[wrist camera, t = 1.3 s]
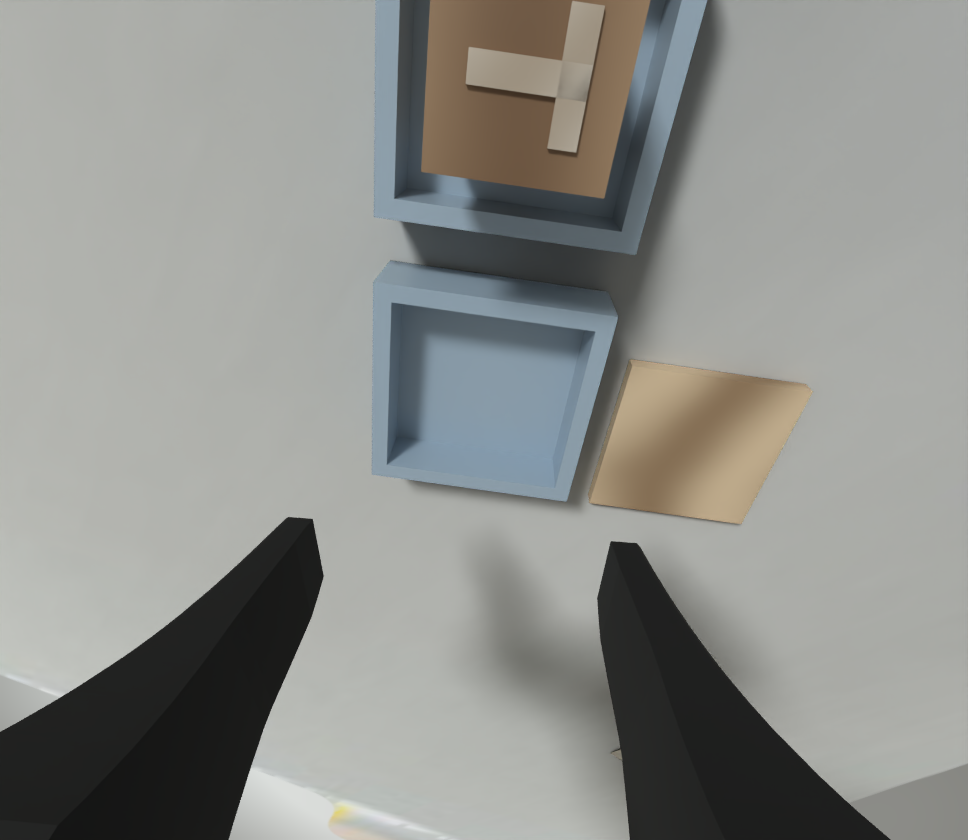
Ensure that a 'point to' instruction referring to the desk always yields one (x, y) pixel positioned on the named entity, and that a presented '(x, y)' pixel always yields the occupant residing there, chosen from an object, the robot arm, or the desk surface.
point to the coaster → (693, 440)
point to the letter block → (529, 90)
